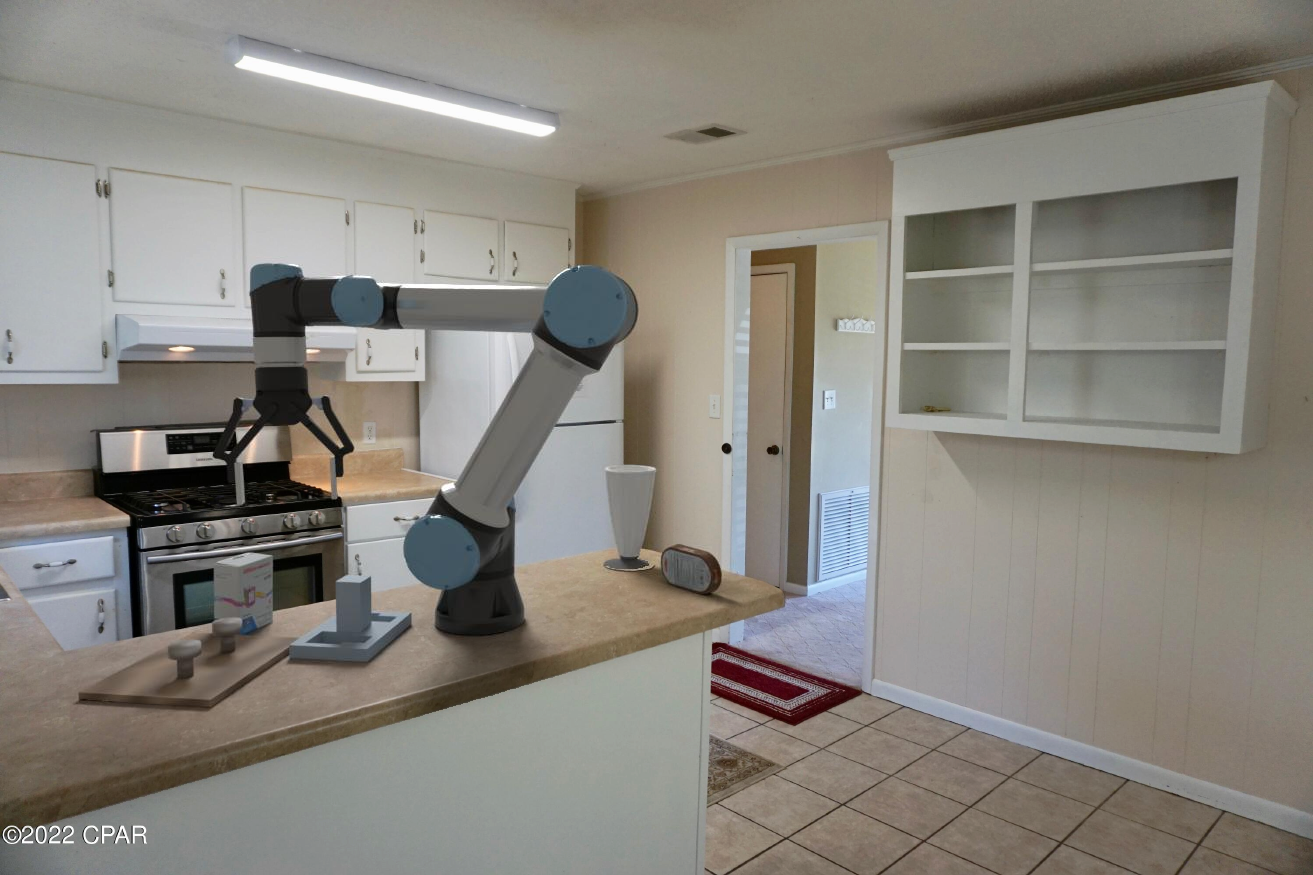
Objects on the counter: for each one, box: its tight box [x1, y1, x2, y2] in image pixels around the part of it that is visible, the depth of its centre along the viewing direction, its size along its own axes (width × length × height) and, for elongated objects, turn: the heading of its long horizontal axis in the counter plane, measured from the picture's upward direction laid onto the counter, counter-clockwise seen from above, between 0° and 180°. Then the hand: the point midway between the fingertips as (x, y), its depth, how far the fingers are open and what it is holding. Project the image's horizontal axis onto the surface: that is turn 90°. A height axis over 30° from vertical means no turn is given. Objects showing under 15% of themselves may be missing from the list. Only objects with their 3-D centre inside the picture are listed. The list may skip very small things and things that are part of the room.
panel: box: [288, 574, 413, 663], centre depth 135 cm, size 12×18×10 cm, turn 175°
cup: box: [603, 464, 658, 569], centre depth 186 cm, size 12×12×22 cm
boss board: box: [78, 617, 300, 708], centre depth 121 cm, size 18×24×6 cm
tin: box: [660, 543, 723, 595], centre depth 168 cm, size 15×3×8 cm, turn 43°
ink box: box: [213, 552, 274, 635], centre depth 139 cm, size 9×5×12 cm, turn 168°
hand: (288, 500), depth 133 cm, fingers open, 13 cm apart
